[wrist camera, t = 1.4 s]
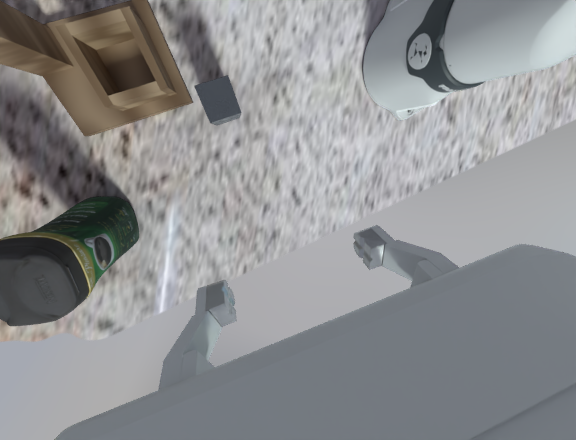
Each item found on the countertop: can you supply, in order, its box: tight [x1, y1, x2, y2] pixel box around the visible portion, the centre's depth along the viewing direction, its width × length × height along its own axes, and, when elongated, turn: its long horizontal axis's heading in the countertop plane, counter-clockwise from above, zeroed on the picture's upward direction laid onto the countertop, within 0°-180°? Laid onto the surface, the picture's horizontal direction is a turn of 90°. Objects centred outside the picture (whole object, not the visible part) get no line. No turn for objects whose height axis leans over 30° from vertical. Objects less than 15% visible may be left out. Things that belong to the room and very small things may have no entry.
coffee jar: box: [0, 197, 139, 326], centre depth 28 cm, size 10×8×19 cm
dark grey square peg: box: [195, 75, 241, 125], centre depth 29 cm, size 4×4×10 cm
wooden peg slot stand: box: [0, 0, 193, 136], centre depth 20 cm, size 16×12×19 cm
